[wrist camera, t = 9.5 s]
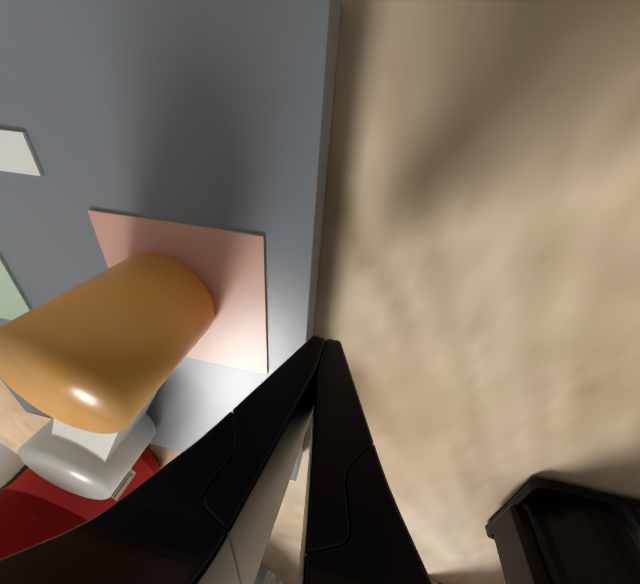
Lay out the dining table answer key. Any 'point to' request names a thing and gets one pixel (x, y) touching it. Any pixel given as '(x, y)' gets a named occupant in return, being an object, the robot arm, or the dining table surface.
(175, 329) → the lever
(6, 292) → the panel
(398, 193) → the dining table surface
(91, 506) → the canned food
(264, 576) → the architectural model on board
